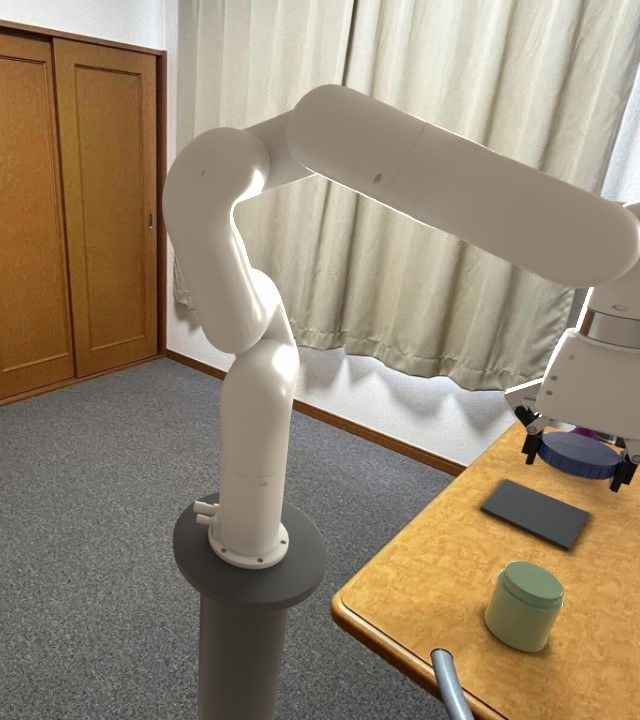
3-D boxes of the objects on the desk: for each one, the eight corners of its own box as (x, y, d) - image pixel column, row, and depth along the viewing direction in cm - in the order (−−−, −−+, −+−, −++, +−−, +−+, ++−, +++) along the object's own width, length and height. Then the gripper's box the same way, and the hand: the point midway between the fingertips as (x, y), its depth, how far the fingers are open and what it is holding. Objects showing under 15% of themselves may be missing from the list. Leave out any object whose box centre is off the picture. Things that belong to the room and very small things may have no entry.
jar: (490, 642, 59) (509, 592, 55) (479, 600, 64) (495, 552, 61) (553, 659, 57) (576, 608, 53) (535, 615, 62) (556, 566, 59)
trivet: (568, 551, 72) (569, 548, 72) (480, 509, 81) (481, 507, 80) (588, 515, 79) (589, 512, 79) (505, 481, 87) (506, 478, 87)
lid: (614, 459, 55) (621, 445, 54) (614, 489, 50) (621, 474, 49) (539, 437, 59) (544, 424, 58) (532, 462, 54) (537, 448, 53)
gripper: (748, 336, 45) (672, 487, 52) (526, 304, 56) (488, 433, 63) (764, 360, 40) (678, 524, 47) (516, 320, 51) (476, 458, 58)
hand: (570, 471), depth 55 cm, fingers closed on lid, 7 cm apart
